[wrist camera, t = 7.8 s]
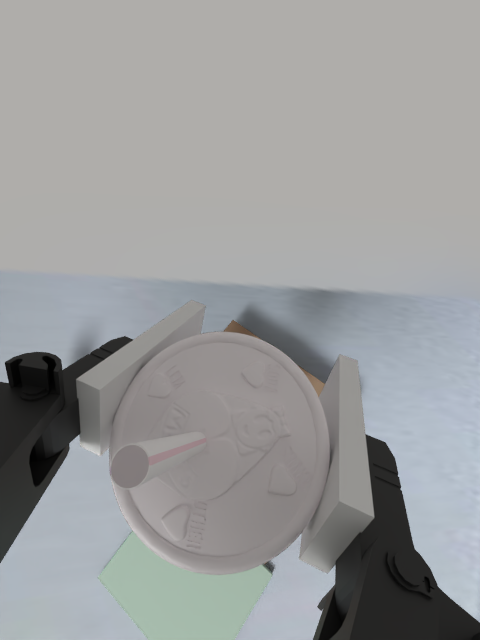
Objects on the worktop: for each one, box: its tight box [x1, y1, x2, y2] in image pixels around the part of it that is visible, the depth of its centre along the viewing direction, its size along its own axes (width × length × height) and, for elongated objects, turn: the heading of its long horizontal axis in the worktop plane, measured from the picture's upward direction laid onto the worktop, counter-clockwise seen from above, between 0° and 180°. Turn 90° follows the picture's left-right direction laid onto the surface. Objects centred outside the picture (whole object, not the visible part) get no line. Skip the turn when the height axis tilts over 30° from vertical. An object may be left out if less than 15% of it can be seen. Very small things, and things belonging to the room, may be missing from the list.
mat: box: [98, 531, 272, 640], centre depth 25 cm, size 12×10×1 cm
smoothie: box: [109, 332, 330, 575], centre depth 10 cm, size 6×6×14 cm
